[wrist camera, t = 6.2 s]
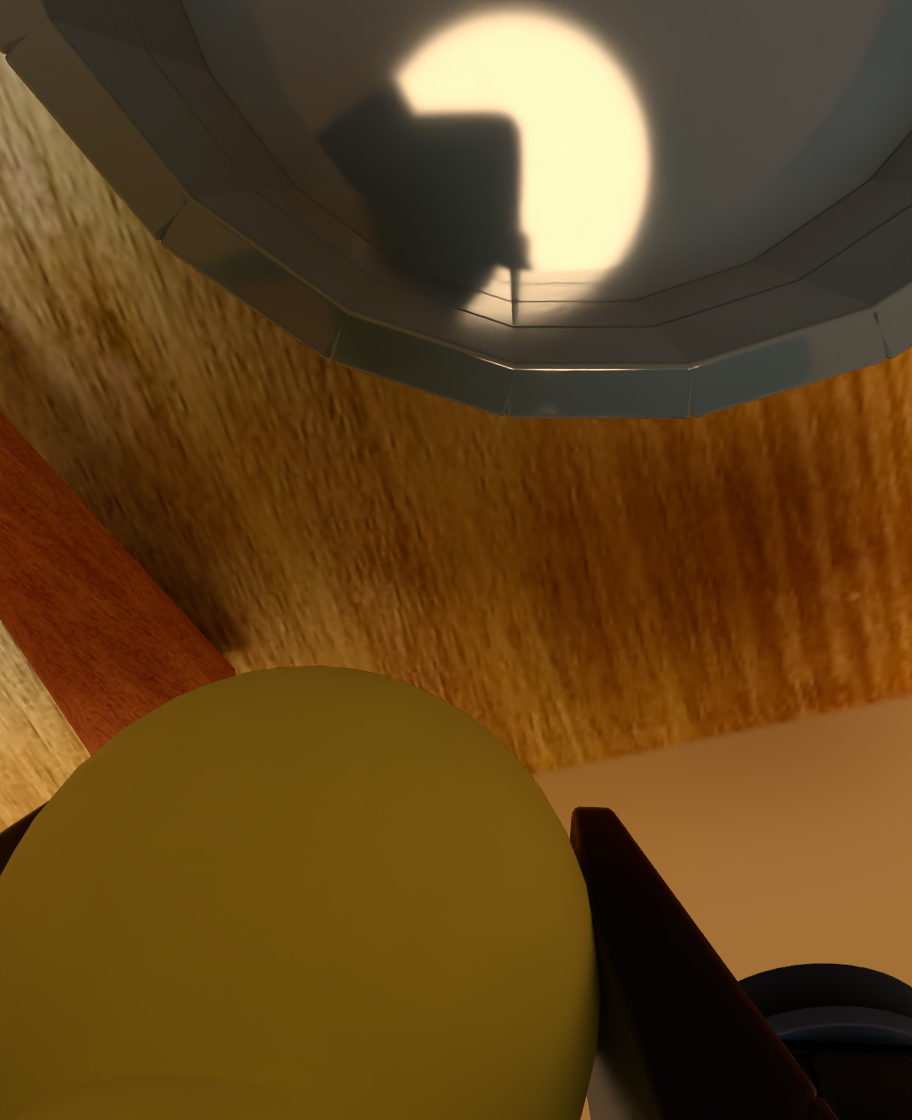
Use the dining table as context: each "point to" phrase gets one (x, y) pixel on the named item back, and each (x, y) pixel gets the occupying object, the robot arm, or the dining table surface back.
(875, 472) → the dining table surface
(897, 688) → the dining table surface
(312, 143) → the bowl
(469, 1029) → the pear toy
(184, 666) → the kendama
